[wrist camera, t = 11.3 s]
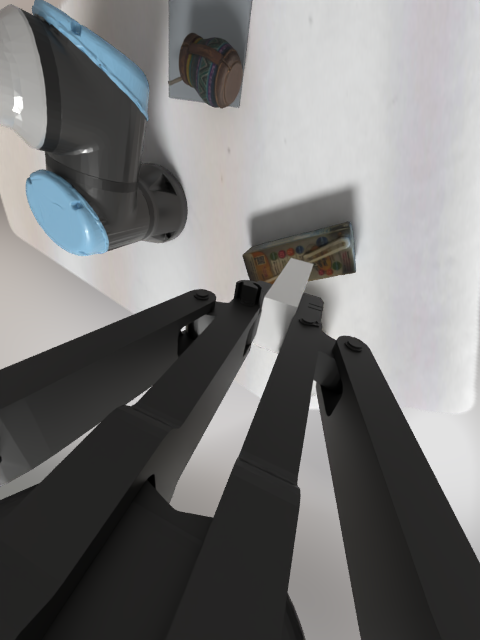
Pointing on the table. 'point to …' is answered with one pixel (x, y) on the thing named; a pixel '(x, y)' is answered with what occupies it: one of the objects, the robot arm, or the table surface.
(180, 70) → the mate gourd
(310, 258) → the beverage carton
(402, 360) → the table surface
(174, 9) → the mat
